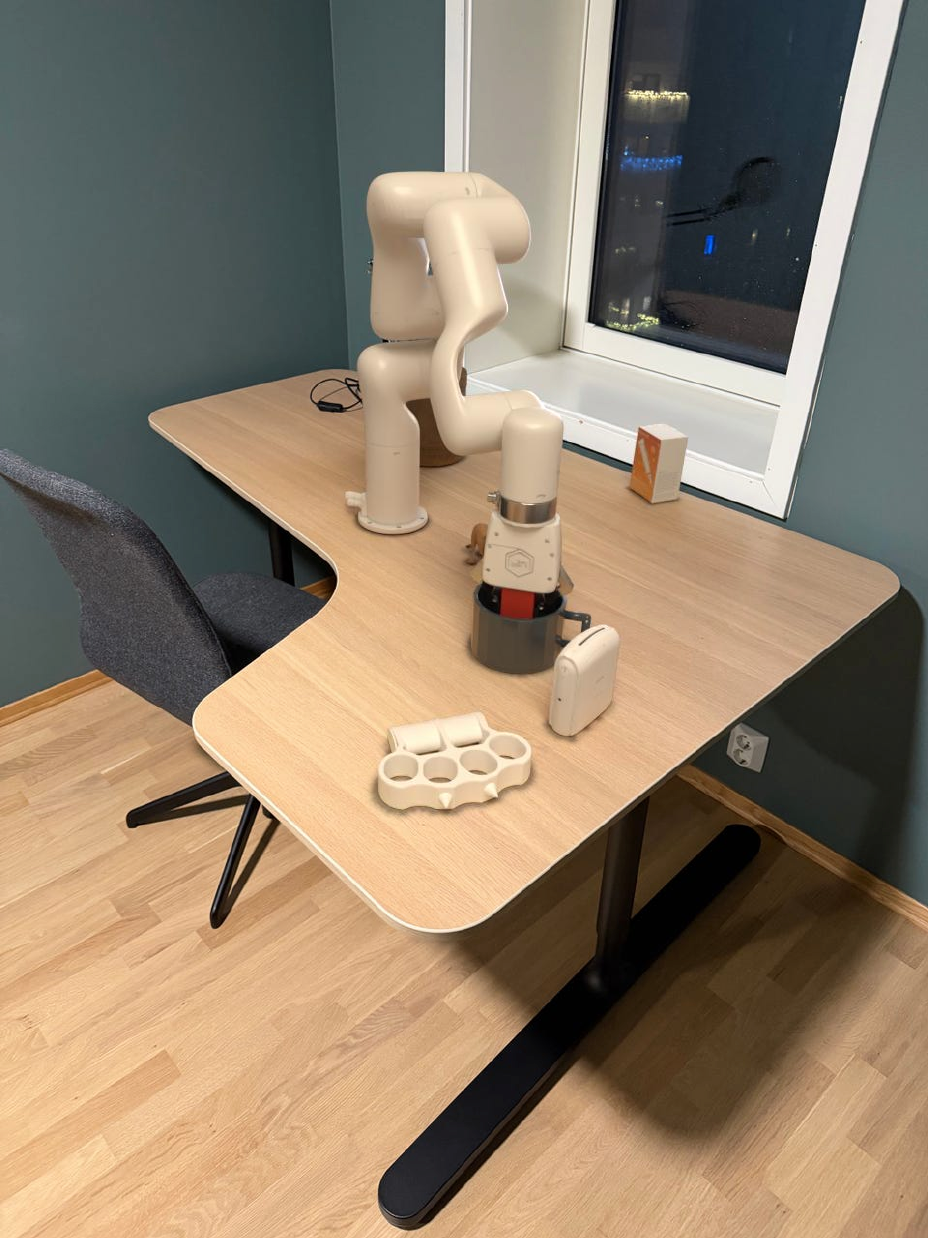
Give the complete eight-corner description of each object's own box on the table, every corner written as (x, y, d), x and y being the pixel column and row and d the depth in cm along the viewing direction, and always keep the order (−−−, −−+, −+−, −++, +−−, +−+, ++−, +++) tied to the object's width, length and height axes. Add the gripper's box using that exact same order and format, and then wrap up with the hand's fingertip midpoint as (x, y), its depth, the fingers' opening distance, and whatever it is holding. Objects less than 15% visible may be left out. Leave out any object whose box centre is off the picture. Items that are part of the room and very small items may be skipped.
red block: (498, 634, 122) (501, 587, 118) (505, 618, 125) (508, 572, 122) (530, 639, 121) (534, 592, 117) (535, 623, 125) (540, 577, 121)
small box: (628, 488, 176) (637, 425, 170) (655, 484, 179) (665, 422, 172) (651, 504, 170) (661, 439, 163) (678, 499, 172) (689, 436, 166)
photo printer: (571, 742, 107) (581, 658, 101) (542, 727, 110) (551, 644, 103) (615, 705, 114) (628, 624, 108) (588, 691, 117) (598, 611, 110)
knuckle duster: (501, 720, 111) (547, 798, 99) (360, 747, 105) (392, 832, 94) (502, 699, 109) (549, 775, 97) (360, 724, 104) (391, 808, 92)
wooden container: (477, 452, 191) (481, 349, 179) (439, 472, 180) (441, 364, 169) (420, 437, 197) (422, 337, 186) (381, 456, 187) (379, 351, 175)
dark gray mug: (461, 665, 121) (463, 612, 116) (482, 618, 132) (485, 568, 127) (579, 685, 118) (586, 632, 113) (591, 636, 128) (598, 585, 124)
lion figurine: (522, 584, 141) (526, 534, 136) (493, 591, 139) (497, 540, 134) (478, 547, 152) (480, 498, 147) (451, 552, 150) (452, 504, 145)
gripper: (456, 508, 112) (452, 629, 122) (588, 526, 109) (573, 649, 118) (470, 486, 118) (466, 603, 128) (595, 502, 115) (581, 621, 124)
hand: (517, 624), depth 123 cm, fingers closed on red block, 4 cm apart
